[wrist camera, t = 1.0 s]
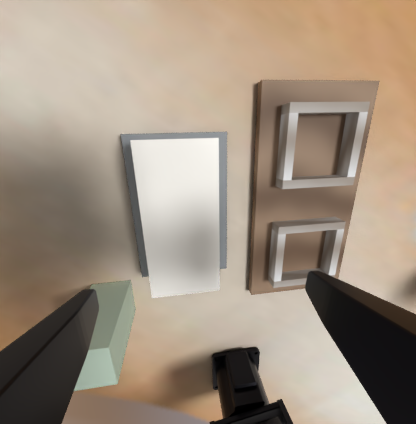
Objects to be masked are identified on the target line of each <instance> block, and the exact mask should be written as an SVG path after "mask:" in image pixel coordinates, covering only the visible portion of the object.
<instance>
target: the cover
mask: <svg viewBox="0 0 416 424" xmlns="http://www.w3.org/2000/svg"><path fill="white" fill-rule="evenodd" d="M130 142H131V150H132V157H133V164H134V171H135V179H136V186H137V193H138V200H139V208H140V215H141V222H142V229H143V237H144V244H145V251H146V258H147V266H148V273H149V280H150V287H151V295H152V298H159V297H167V296H176V295H184V294H193V293H202V292H210V291H219V290H220V236H219V138H193V139H154V140H130Z"/></svg>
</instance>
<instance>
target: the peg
mask: <svg viewBox="0 0 416 424" xmlns="http://www.w3.org/2000/svg"><path fill="white" fill-rule="evenodd" d="M90 289H95V290H96V293H97V298H98V303H99V312H98V316H97V320H96V324H95V328H94V332H93V335H92V339H91V343H90V347H89V350H88V354H87V356H86V359H85V362H84V365H83V367H82V370H81V373H80V375H79V378H78V381H77V383H76V386H75V389H74V391H78V390H84V389H90V388H96V387H102V386H108V385H114V384H118V380H119V376H120V372H121V368H122V364H123V359H124V355H125V351H126V347H127V343H128V339H129V335H130V331H131V326H132V322H133V318H134V314H135V310H136V308H135V302H134V297H133V291H132V285H131V280H129V281H119V282H110V283H100V284H92V285H91V287H90Z"/></svg>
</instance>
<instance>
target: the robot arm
mask: <svg viewBox="0 0 416 424" xmlns="http://www.w3.org/2000/svg"><path fill="white" fill-rule="evenodd" d="M305 289H306V292H307V294H308V296H309V298H310V300H311V302H312V304H313V306H314V308H315V310H316V311H317V313H318V315H319V317H320V319H321V321H322V323H323V324H324V326H325V328H326V329H327V331H328V332H329V334H330V336H331V337H332V339H333V340H334V342H335V343H336V345H337V347H338V348H339V350H340V351H341V353H342V354H343V356H344V358H345V359H346V361H347V362H348V364H349V365H350V367H351V368H352V370H353V372H354V373H355V375H356V376H357V378H358V379H359V381H360V383H361V384H362V386H363V387H364V389H365V390H366V392H367V393H368V395H369V397H370V398H371V400H372V401H373V403H374V404H375V406H376V408H377V409H378V411H379V412H380V414H381V415H382V417H383V419H384V420H385V422H386V423H387V424H416V314H414V313H412V312H409V311H407V310H405V309H403V308H401V307H398V306H396V305H394V304H392V303H390V302H387V301H385V300H383V299H381V298H379V297H376V296H374V295H372V294H370V293H367V292H365V291H363V290H361V289H359V288H356V287H354V286H352V285H350V284H348V283H345V282H343V281H341V280H339V279H337V278H334V277H332V276H330V275H328V274H325V273H323V272H321V271H318V270H315V271H309V272H308V275H307V279H306V284H305ZM98 312H99V303H98V298H97V293H96V290H95V289H85V290H82V291H81V292H79V293H78V294H77V295H75V296H74V297H73V298H71V299H70V300H69V301H67V302H66V303H65V304H63V305H62V306H61V307H59V308H58V309H57V310H55V311H54V312H53V313H51V314H50V315H49V316H47V317H46V318H45V319H43V320H42V321H40V322H39V323H38V324H36V325H35V326H34V327H32V328H31V329H30V330H28V331H27V332H26V333H24V334H23V335H22V336H20V337H19V338H18V339H16V340H15V341H14V342H12V343H11V344H10V345H8V346H7V347H6V348H4V349H3V350H2V351H0V424H61V423H62V421H63V418H64V415H65V413H66V410H67V407H68V405H69V402H70V399H71V397H72V394H73V391H74V389H75V386H76V383H77V381H78V378H79V375H80V373H81V370H82V367H83V365H84V362H85V359H86V356H87V354H88V350H89V347H90V343H91V339H92V335H93V332H94V328H95V324H96V320H97V316H98ZM259 354H260V352H259V349H258V348H251V349H245V350H238V351H231V352H225V353H218V354H214V355H213V356H212V375H213V389H214V390H218V391H219V397H220V403H221V409H222V415H223V419H221V420H218V421H211V422H210V424H293V422H292V420H291V418H290V416H289V414H288V412H287V409H286V407H285V405H284V403H283V401H282V399H280V400H277V402H274V403H271V404H269V401H268V399H267V396H266V393H265V390H264V387H263V384H262V381H261V379H260V376H259V373H258V367H259Z"/></svg>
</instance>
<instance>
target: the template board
mask: <svg viewBox="0 0 416 424" xmlns="http://www.w3.org/2000/svg"><path fill="white" fill-rule="evenodd" d="M193 138H219V236H220V269H224V268H226V256H227V132H197V133H153V134H121V140H122V147H123V153H124V160H125V167H126V173H127V180H128V187H129V193H130V200H131V206H132V213H133V220H134V226H135V233H136V240H137V246H138V253H139V260H140V266H141V273H142V277H146V276H149V273H148V266H147V258H146V251H145V244H144V237H143V229H142V222H141V215H140V208H139V200H138V193H137V186H136V179H135V171H134V164H133V157H132V150H131V142H130V140H154V139H193Z"/></svg>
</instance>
